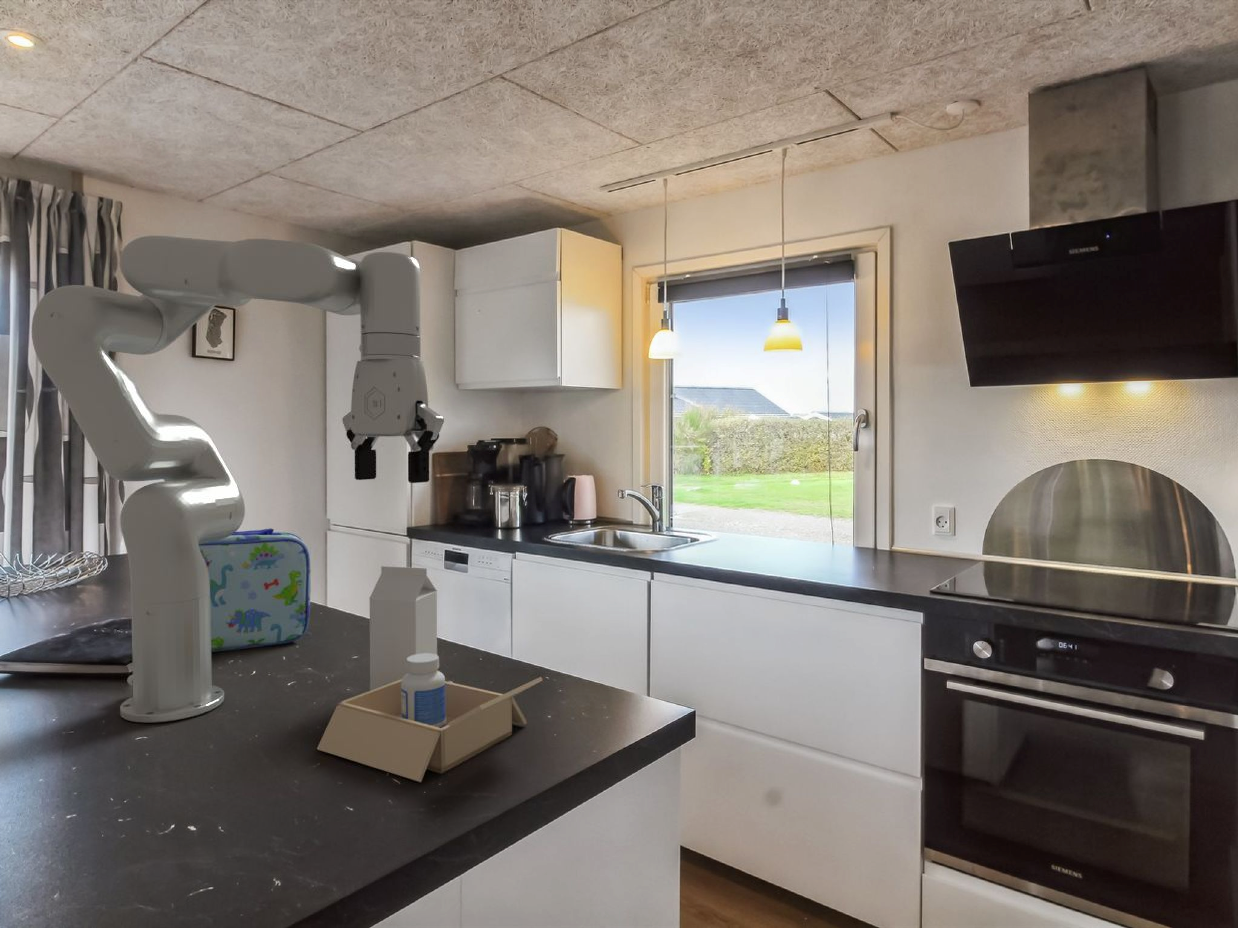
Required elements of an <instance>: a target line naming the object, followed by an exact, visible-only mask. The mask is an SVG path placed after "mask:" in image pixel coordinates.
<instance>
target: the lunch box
mask: <svg viewBox="0 0 1238 928" xmlns="http://www.w3.org/2000/svg"><path fill="white" fill-rule="evenodd" d="M199 549H200V552H201V554H202V556H203V558H204V560H205V563H206V565H207V568H208V572H209V578H210V603H211V653H215V652H216V653H218V652H222V651H223V652H224V651H225V652H226V651H235V650H242V649H250V648H251V649H252V648H259V647H265V646H273V645H280V644H281V645H282V644H288V643H291V642H294V641H296V640H298V639H300V638H302V637H303V636H304V635H305V634H306V632H307V630H308V627H309V624H310V623H309V622H310V613H311V612H310V611H311V594H312V593H311V591H312V589H311V588H312V585H311V584H312V580H311V579H312V578H311V576H312V575H311V572H312V571H311V570H312V568H311V556H310V551H309V548H308V546H307V545H306V543H305V542H304V541H303V540H302V538H301V537H300V536H298V535H296V534H294V533H291V532H278V531H277V532H275V531H274V528H269V527H268V528H264V529H257V530H256V529H255V530H244V531H236V532H235V533H233V534H232V535H230V536H228V537H226V538H224V539H220V540H217V541H213V542H208V543H203V544H199Z"/></svg>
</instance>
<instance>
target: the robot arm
mask: <svg viewBox="0 0 1238 928" xmlns="http://www.w3.org/2000/svg"><path fill="white" fill-rule="evenodd" d="M118 263H119V268H120V272H121V274H122V276H123V278H124V280H125V281H126V282H127V284H129V286H130V287H132V289H134V290H135V291H137V292H138V293H140V294H141V295H139V296H138V295H134V294H129V293H125V292H120V291H116V290H111V289H109V288H108V289H106V288H102V287H98V286H93V285H85V284H84V285H83V284H82V285H80V284H71V285H70V284H69V285H62V286H59V287H56V288H53V289H52V290H50V291H48V292H47V293H46V294H44V296H42V297H41V298H40V300H39V302H38V304H37V305H36V307H35V310H34V312H33V316H32V322H31V323H32V324H31V340H32V345H33V348H34V351H35V355H36V357H37V359H38V361H39V363H40V365H41V366H42V367H41V368H43V370H44V372H45V374H46V375H47V377H48V378H49V380H50V381H51V382H52V384H53V385H54V387H55V388H56V389H57V390H58V392H59V394H60V395H61V396H62V398H63V400H64V401H65V403H66V404H67V406H68V408H69V410H70V411H71V413H72V414H71V415H72V416H73V417H74V420H75V421H76V423H77V425H78V427H79V428H80V431H81V432H82V434H83V436H84V437H85V440H86V441H87V443H88V445H89V446H90V448H91V450H92V452H93V454H94V455H95V456H96V459H97V460H98V463H99V464H100V465H101V468H102V469H103V470H104V471H105V472H106V473H107V474H108V476H109V477H111V478H113V479H115V480H118V481H123V482H147V481H157V482H153V483H150V484H147V485H144V486H142V487H140V488H139V489H137V490H135V491H134V492H133V493H131V494H130V495H129V497H128V498H126V500H125V502H124V504H123V506H122V508H121V511H120V528H121V533H122V538H123V541H124V545H125V550H126V553H127V559H128V560H127V561H128V565H129V566H128V567H129V578H130V579H129V580H130V603H131V604H130V606H131V644H132V645H131V648H132V649H131V650H132V651H131V652H132V655H131V656H132V657H131V658H132V674H131V675H129V676H128V677H127V678H126V679H127V680H126V683H128V685H130V686H132V691H133V692H132V695H133V696H131V697H129V698H127V699H125V700H124V701H123V702H122V703H121V704H120V707H119V714H120V717H121V718H123V720H126V721H129V722H135V723H142V724H143V723H145V724H146V723H148V724H149V723H165V722H173V721H178V720H179V721H180V720H183V719H187V718H191V717H196V716H199V715H201V714H204V713H207V712H210V711H212V710H214V709H216V708H217V707H219V706H220V705H221V704H223V702H224V701H225V691H224V690H223V688H221V687H219V686H217V685H214V684H212V683H213V682H212V673H213V672H212V652H211V603H210V578H209V572H208V568H207V565H206V563H205V560H204V558H203V556H202V554H201V552H200V549H199V544H203V543H208V542H213V541H217V540H220V539H224V538H226V537H228V536H230V535H232V534H233V533H235V532H238V531H237V530H239V529H240V527H241V526H242V524H243V521H244V519H245V513H246V507H245V500H244V497H243V494H242V492H241V490H240V488H239V486H238V484H237V481H235V479H234V477H233V475H232V473H231V471H230V470H229V468H228V466H227V464H226V462H225V460H224V458H223V457H222V455H221V453H220V452H219V450H218V449H217V446H216V444H215V443H214V441H213V439H212V438H211V436H210V435H209V433H208V432H207V431H206V430H205V429H204V428H203V427H202V426H201V425H200V424H199V423H197V422H196V421H194V420H193V419H192V418H191V419H190V418H189V417H186V416H182V415H178V414H166V413H165V414H162V413H156V412H155V411H153V410H152V409H151V408H150V407H149V405H148V403H147V402H146V400H145V399H144V397H143V396H142V394H141V392H140V390H139V388H138V386H137V384H136V383H135V381H134V379H132V377H131V376H130V375H129V373H127V372H126V371H125V370H124V369H123V368H122V367H121V366H120V365H119V364H118V363H116V361H115V360H113V359H112V358H111V356H109V354H108V352H114V353H122V354H130V355H140V356H141V355H142V356H144V355H145V356H146V355H151V354H156V353H158V352H160V351H162V350H165V349H166V348H167V347H169V346H170V345H171V344H172V343H175V341H177V339H179V338H180V337H181V336H182V335H184V334H185V333H186V332H187V331H188V330H189V329H190V328H192V327H193V326H194V325H195V324H197V323H198V322H199V321H200V320H201V319H202V318H204V317H205V316H206V315H207V314H208V313H209V312H210V311H212V309H213V308H214V307H216V306H217V305H218V306H226V307H243V306H246V305H247V304H248V303H250V302H251V301H252V299H253V300H265V301H266V300H267V301H276V302H285V303H286V302H287V303H293V304H300V305H305V306H309V307H312V308H316V309H319V310H323V311H326V312H328V313H333V314H336V315H340V316H358V315H360V345H359V348H358V349H359V351H360V360H357V361H356V365H355V370H354V374H353V375H354V376H353V381H352V388H351V389H352V391H351V400H350V401H351V404H350V411H349V412H348V413H347V414H345V416H343V417H342V419H341V420H342V423H343V426H344V429H345V432H346V433H345V434H346V438H347V439H348V441H350V447H351V449H352V450H353V451H354V479H355V480H356V481H364V480H366V481H367V480H375V479H376V478H377V449H373V447H374V445H375V444H376V442H377V441H378V439H379V437H404V439H405V440H406V442H407V444H408V445H409V447H410V449H411V451H408V453H407V481H408V483H410V484H415V483H416V484H420V483H429V481H430V452H433V450H434V445H435V444H436V442H437V441H438V440H439V438H440V432H441V430H442V428H443V424H444V422H445V418H444V417H443V416H442V415H440V414H439V413H437V412H436V411H434V410H433V409H431V408H430V407H429V396H428V394H429V393H428V385H427V378H426V372H425V367H424V362H423V361H422V360H421V268H420V265H419V262H418V261H417V259H415V258H414V257H413V256H410V255H407V254H405V253H400V252H392V251H391V252H390V251H377V252H372V253H368V254H366V255H364V256H363V257H362V259H361V260H360V261H359V260H356V259H353V258H350V257H347V256H344V255H342V254H340V253H338V252H336V251H334V250H332V249H329V248H326V247H323V246H322V245H321V246H320V245H318V244H315V243H310V242H303V241H294V240H293V241H292V240H282V239H267V238H247V239H246V238H245V239H243V240H236V241H229V240H227V241H226V240H217V239H216V240H213V239H203V238H202V239H200V238H191V237H182V236H181V237H180V236H177V237H176V236H168V235H145V236H140V237H138V238H135V239H133V240H131V241H130V242H128V243H127V244H126V245H125V246H124V247H123V249H122V251H121V252H120V256H119V262H118ZM107 351H108V352H107ZM159 480H163V481H159Z"/></svg>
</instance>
